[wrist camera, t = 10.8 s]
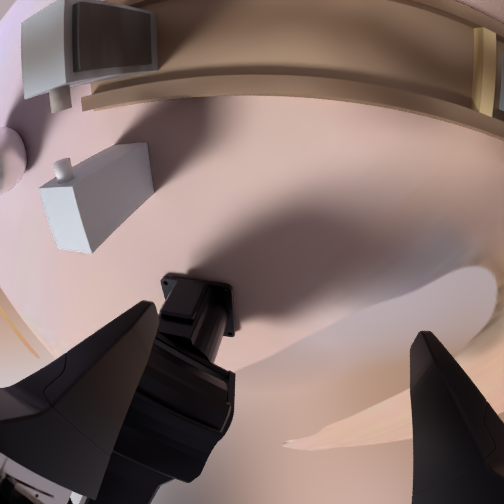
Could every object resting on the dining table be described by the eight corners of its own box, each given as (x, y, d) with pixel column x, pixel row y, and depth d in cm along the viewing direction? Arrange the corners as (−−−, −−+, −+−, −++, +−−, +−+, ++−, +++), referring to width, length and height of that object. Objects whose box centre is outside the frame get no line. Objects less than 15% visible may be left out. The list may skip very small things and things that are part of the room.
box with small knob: (145, 127, 18) (67, 165, 11) (154, 193, 21) (92, 253, 14) (107, 131, 18) (29, 170, 12) (118, 192, 21) (54, 248, 15)
